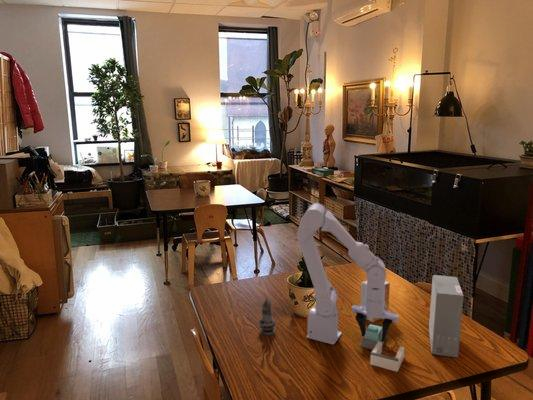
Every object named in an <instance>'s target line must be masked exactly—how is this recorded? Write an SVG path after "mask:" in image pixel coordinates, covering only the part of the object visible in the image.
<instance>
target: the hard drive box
mask: <svg viewBox="0 0 533 400" xmlns="http://www.w3.org/2000/svg"><path fill="white" fill-rule="evenodd" d="M431 279H432V280H431V281H432V282H431V295H430V296H431V297H430V306H429V307H430V309H429V322H428V323H429V325H428V332H429V333H428V334H429V342H430V349H431V350H430V351H431V352H430V353H431V354H433V355H435V356H443V357H444V356H446V357H450V358H459V352H460V342H461V329H462V318H463V306H464V305H463V304H464V298H465V297H464V296H465V295H464V294H463V289H462V287H461V285H460V282H459V279H458V277H456V276H449V275H440V274H439V275H438V274H437V275H436V274H433V275H432V278H431Z"/></svg>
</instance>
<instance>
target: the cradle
mask: <svg viewBox="0 0 533 400" xmlns="http://www.w3.org/2000/svg"><path fill="white" fill-rule="evenodd" d="M382 333H383V332H382ZM387 338H388V334H387V335H386V339H387ZM385 341H386V340H385ZM385 341H384V342H383V341H382V340H381V342H382V346H383V345H384V343H385ZM377 343H378V342H375V341H371V340H367V339H365V336H364V337H362V338H361V340H360V343H359V347H362V348H365V349H369V350H372V351H373V350H374V348H375V346H376V344H377Z"/></svg>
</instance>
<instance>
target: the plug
mask: <svg viewBox="0 0 533 400" xmlns="http://www.w3.org/2000/svg"><path fill="white" fill-rule="evenodd" d="M364 337H365V339H367V340H371V341H375V342H378V341H380V342H382V326H379V325H374V324H369V325H368V327H366V333H365V336H364Z"/></svg>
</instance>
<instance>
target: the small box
mask: <svg viewBox="0 0 533 400" xmlns="http://www.w3.org/2000/svg"><path fill="white" fill-rule="evenodd" d="M360 283H361V285H360V289H361V290H360V306H366V283H367V280H365V281H361V282H360ZM384 284H385V300H384V310H386V311H389V307H390V304H389V303H390V287H391V285H390V282H389V281H386V280H385V283H384ZM367 320H368V321H370V322H372V323H375V322H377V321H379V320H382V319H381V318H373V317H369V316H367V318H366V321H367Z"/></svg>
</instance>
